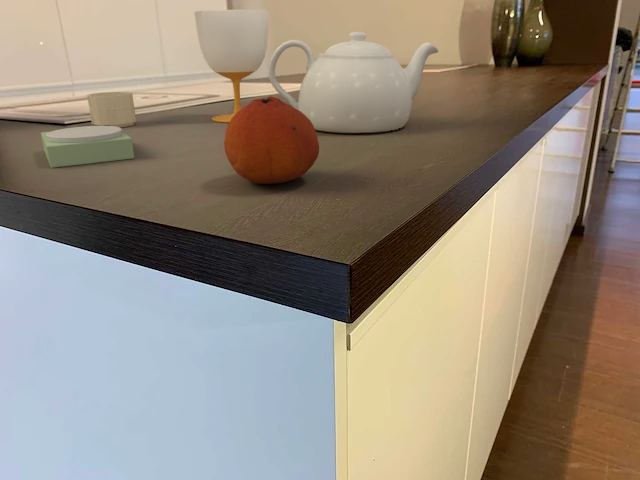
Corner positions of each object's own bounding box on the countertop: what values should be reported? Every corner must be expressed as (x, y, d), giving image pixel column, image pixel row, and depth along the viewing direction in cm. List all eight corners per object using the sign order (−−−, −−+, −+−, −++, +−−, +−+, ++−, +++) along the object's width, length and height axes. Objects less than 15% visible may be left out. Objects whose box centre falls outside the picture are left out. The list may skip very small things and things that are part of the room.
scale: (44, 151, 68) (39, 127, 67) (117, 143, 73) (114, 121, 71) (50, 168, 59) (45, 141, 58) (134, 158, 64) (130, 132, 62)
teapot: (347, 114, 95) (347, 32, 91) (436, 124, 83) (442, 30, 79) (267, 127, 83) (262, 33, 78) (358, 141, 71) (359, 31, 66)
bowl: (84, 128, 85) (79, 96, 84) (105, 122, 92) (100, 91, 90) (125, 128, 85) (120, 96, 83) (143, 122, 91) (139, 91, 89)
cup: (286, 117, 93) (282, 10, 87) (234, 126, 85) (226, 9, 79) (242, 112, 100) (235, 13, 94) (190, 120, 92) (179, 12, 86)
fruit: (245, 199, 47) (238, 105, 44) (218, 177, 54) (211, 95, 51) (335, 186, 50) (335, 98, 47) (298, 167, 58) (296, 90, 55)
